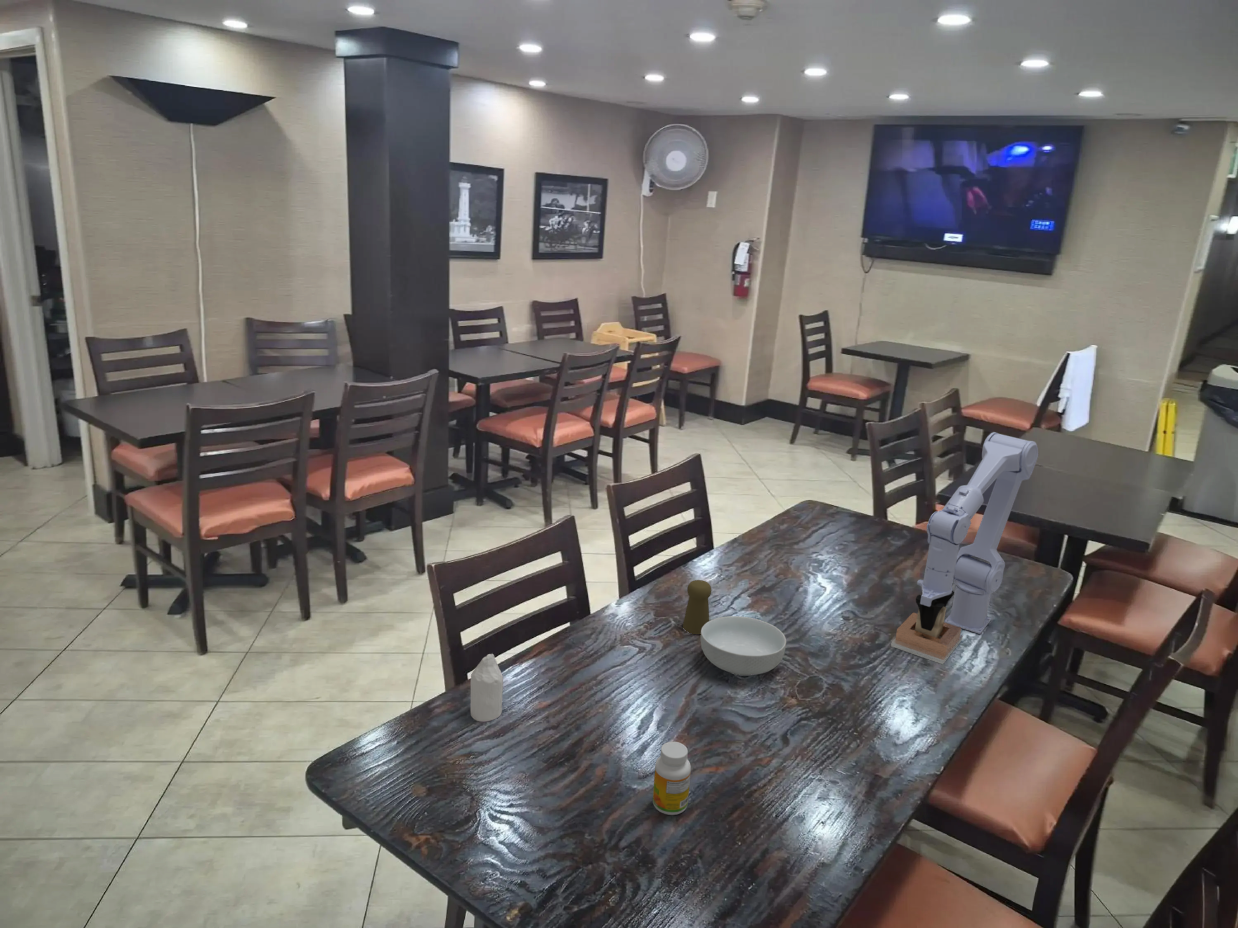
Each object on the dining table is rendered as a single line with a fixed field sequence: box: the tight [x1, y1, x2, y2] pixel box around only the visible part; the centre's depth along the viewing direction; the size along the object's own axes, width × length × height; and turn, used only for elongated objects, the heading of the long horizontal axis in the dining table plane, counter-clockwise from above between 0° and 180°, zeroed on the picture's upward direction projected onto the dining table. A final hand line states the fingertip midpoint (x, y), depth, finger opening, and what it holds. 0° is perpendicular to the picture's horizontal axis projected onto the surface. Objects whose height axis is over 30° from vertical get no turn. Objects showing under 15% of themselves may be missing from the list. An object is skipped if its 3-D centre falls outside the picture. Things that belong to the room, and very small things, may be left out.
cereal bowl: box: [699, 615, 787, 677], centre depth 162 cm, size 17×17×7 cm
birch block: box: [915, 606, 947, 638], centre depth 175 cm, size 4×4×6 cm
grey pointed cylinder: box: [470, 653, 504, 723], centre depth 142 cm, size 6×12×6 cm
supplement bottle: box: [652, 741, 692, 816], centre depth 122 cm, size 5×5×10 cm
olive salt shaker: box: [682, 579, 713, 635], centre depth 176 cm, size 6×6×11 cm
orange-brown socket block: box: [890, 612, 964, 665], centre depth 176 cm, size 14×11×4 cm
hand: (930, 624), depth 175 cm, fingers closed on birch block, 4 cm apart
